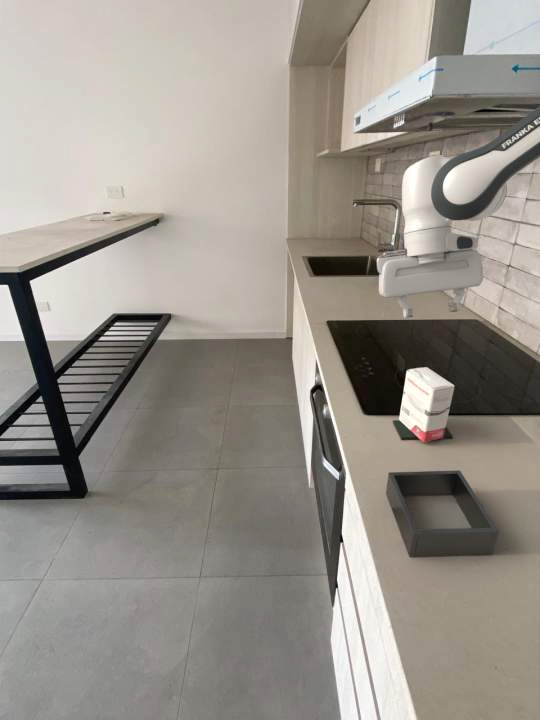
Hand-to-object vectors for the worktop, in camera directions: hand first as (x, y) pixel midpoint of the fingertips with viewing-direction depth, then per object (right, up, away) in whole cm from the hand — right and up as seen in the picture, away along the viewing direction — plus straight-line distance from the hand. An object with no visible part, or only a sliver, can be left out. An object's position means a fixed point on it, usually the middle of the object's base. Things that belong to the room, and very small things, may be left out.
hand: (431, 314), depth 82 cm
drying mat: (-3, -24, -2) cm, 24 cm away
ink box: (-3, -24, -2) cm, 24 cm away
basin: (-9, -34, -23) cm, 42 cm away
